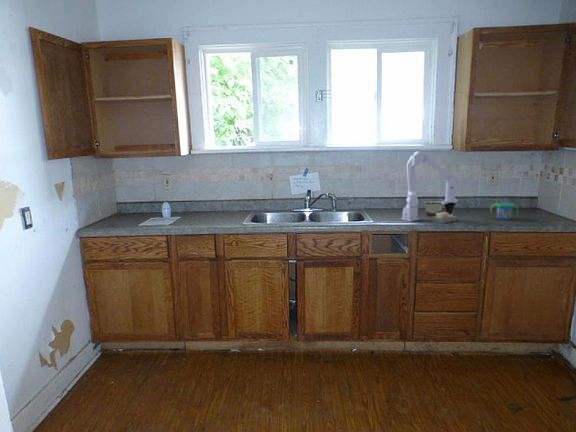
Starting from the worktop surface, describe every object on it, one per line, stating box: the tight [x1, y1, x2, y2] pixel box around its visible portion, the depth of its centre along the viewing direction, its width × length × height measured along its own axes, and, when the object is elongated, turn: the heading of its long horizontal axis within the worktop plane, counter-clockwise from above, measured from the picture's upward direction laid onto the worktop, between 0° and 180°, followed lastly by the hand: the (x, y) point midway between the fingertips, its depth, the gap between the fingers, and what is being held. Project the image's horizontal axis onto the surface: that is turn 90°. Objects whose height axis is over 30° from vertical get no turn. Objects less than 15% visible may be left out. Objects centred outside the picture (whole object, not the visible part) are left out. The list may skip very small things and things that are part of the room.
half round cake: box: [424, 200, 444, 218], centre depth 263 cm, size 12×6×10 cm, turn 84°
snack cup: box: [490, 202, 519, 221], centre depth 249 cm, size 16×10×10 cm
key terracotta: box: [441, 211, 449, 218], centre depth 247 cm, size 3×3×4 cm
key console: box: [430, 215, 459, 224], centre depth 247 cm, size 15×9×2 cm, turn 123°
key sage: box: [436, 213, 444, 219], centre depth 244 cm, size 3×3×4 cm
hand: (448, 214), depth 249 cm, fingers closed, pressing on key cream
